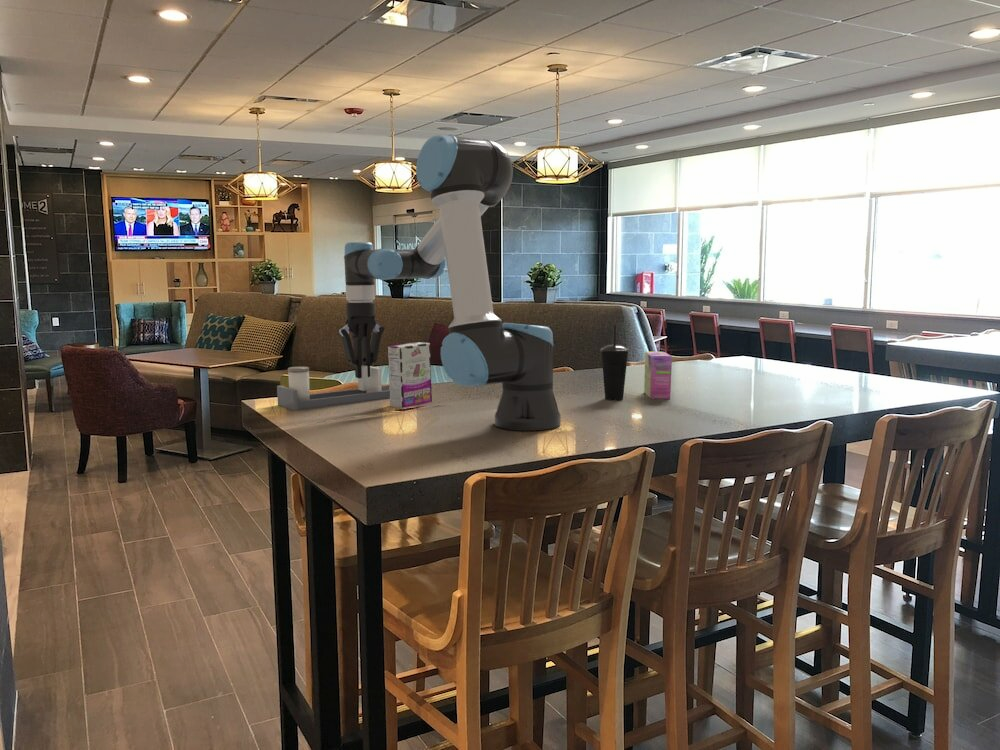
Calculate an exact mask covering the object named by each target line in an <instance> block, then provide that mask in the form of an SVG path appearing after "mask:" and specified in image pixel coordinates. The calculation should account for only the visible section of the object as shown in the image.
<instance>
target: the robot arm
mask: <svg viewBox="0 0 1000 750" xmlns="http://www.w3.org/2000/svg"><path fill="white" fill-rule="evenodd" d="M415 169H416V170H415V171H416V179H417V183H418V184H419V185H420V187H421V188H422V189H424V191H426V192H429V193H430V201H431V204H432V205H433V206H435V207H436V208H438V209H439V214H440V216H439V218H438V219H437V220H435V222H434V224H433V225H432V226H431V228H430V229H428V231H427V232H426V234H425V235H424V237H423V238H422V239H421V241H420V242H418V244H416V246H415V247H414V248H413V249H407V248H406V249H402V248H401V249H400V248H399V249H394V248H393V249H390V248H379V249H374V244H373V243H372V242H371V241H369V242H368V241H367V242H366V241H365V242H364V241H359V242H356V241H355V242H354V241H353V242H352V241H351V242H350V241H349V242H347V243H345V244H344V256H343V260H344V279H345V281H344V283H345V300H346V301H348V302H346V304H345V308H346V309H345V313H346V321H345V325H344V326H343V327H342V328H338V329H337V332H338V335H339V336H340V338H341V341H342V344H343V345H342V346H343V349H344V352H345V356H346V359H347V363H348V364H350V365H353V366H354V376H355V378H356V379H357V389H358V390H362V391H365V390H368V377H370V366H373V364H374V363H376V362H377V360H378V356H379V350H380V344H381V339H382V335H383V333H384V331H385V327H384V326H380V325H379V324H378V323H377V321H376V318H375V316H376V303H375V302H374V301H375V299H376V293H375V280H380V281H384V280H385V281H388V280H400V279H402V280H403V279H404V280H405V279H406V280H407V279H425V280H426V279H427V280H428V279H433V278H434V279H435V278H436V279H437V278H439V277H441V275H443V273H444V270H445V268H447V275H448V282H449V289H450V297H451V303H452V311H453V320H452V321H451V323H450V324H449V325H448V335H446V336H445V337H444V338H443V340H442V342H441V345H442V346H441V347H440V360H441V364H442V366H443V369H444V372H445V373H446V375H447V376H448V378H449V379H451V381H452V382H454V383H455V384H456V385H458V386H460V387H474V388H478V387H483V386H488V385H495V384H501V385H502V386H501V394H500V398H499V401H498V404H497V407H496V411H495V412H494V426H496V427H498V428H500V429H504V430H511V431H527V432H528V431H532V432H533V431H544V430H551V429H556V428H558V427H559V426H561V413H560V411H559V408H558V407H559V406H558V404H557V399H556V397H555V394H554V347H555V344H554V338H553V337H554V336H553V335H554V334H553V331H552V330H551V328H550V327H549V326H545V325H535V324H523V323H513V322H503V321H502V319H501V318H500V317H498V316H497V315H496V314H495V313H494V306H493V300H492V293H491V284H490V277H489V271H488V270H489V269H488V262H487V255H486V248H485V239H484V234H483V233H484V232H483V226H482V225H483V224H482V218H481V217H482V216H483V215H484V213H486V211H487V210H488V208H489V207H490V208H491V207H495V206H497V205H498V204H499V203H500V201H501V200H502V199H503V198H504V197H505V196H506V194H507V193H508V190H509V189H510V187H511V184H512V181H513V174H514V168H513V163H512V159H511V157H510V155H509V153H508V152H507V150H506V149H505V148H504V147H503V146H502V145H501V144H499V143H498V142H496V141H493V140H490V139H485V138H484V139H481V138H480V139H479V138H473V137H472V138H471V137H464V136H456V135H453V134H448V135H447V134H446V135H445V134H443V135H442V134H436V135H433V136H431V137H430V138H428V139H427V140H426V141H425V142H424V143H423V145H422V147H421V149H420V151H419V153H418V156H417V162H416V167H415ZM372 332H373V333H372ZM349 334H351V336H352V337H351V336H350V335H349ZM352 342H353V343H352Z"/></svg>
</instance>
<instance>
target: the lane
mask: <svg viewBox="0 0 1000 750" xmlns="http://www.w3.org/2000/svg"><path fill="white" fill-rule="evenodd" d="M276 393H277V394H276V395H277V406H279V407H282V408H284V409H287V410H290V411H294V412H295V411H296V412H297V411H303V410H310V409H311V410H312V409H321V408H327V407H328V408H329V407H337V406H343V405H350V404H356V403H357V404H360V403H367V402H376V401H383V400H390V385H389V384H388V385H387V384H386V385H385V384H384V385H382V391H379V392H371V393H367V391H366V390H365V391H362V390H358V388H354V389H353V388H352V389H344V390H335V391H325V392H317V393H310V400H304V401H297V390H294V389H291V388H289V386H288V387H286V386H284V385H277V386H276Z"/></svg>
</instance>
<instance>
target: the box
mask: <svg viewBox="0 0 1000 750" xmlns="http://www.w3.org/2000/svg"><path fill="white" fill-rule="evenodd" d="M672 366H673V356H672V355H671V354H669V353H667V352H666V351H645V352H644V381H643V382H644V385H643V386H644V387H643V392H644V394H646V395H647V396H648V397H649V399H650V400H651V399H652V400H668V399H669V400H670V399H671V392H672V390H671V389H672V370H673V369H672Z"/></svg>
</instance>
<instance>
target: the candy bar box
mask: <svg viewBox="0 0 1000 750" xmlns="http://www.w3.org/2000/svg"><path fill="white" fill-rule="evenodd" d="M431 359H432V358H431V343H430V342H422V341H421V342H420V341H418V342H409V343H404V344H403V343H401V344H395V345H391V346H389V345H388V346H387V360H388V378H389V379H388V382H389V383H388V385H389V390H390V399H389V402H390V403H389V405H390V406H391V407H394V408H395V407H396V408H399V409H397V411H398V410H399V412H406V411H411V410H414V409H415V410H416V409H418V408H423V407H425V405H423V404H428V403H430V402H431V403H432V402H433V390H432V389H433V387H432V364H431ZM417 405H422V406H417ZM413 406H414V407H413ZM427 406H429V405H426V407H427Z"/></svg>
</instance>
